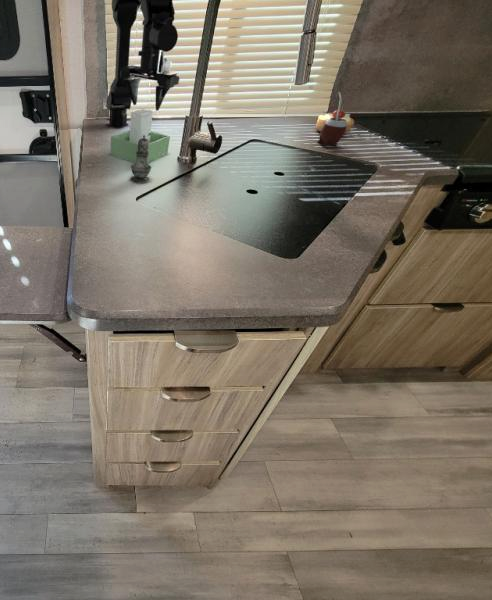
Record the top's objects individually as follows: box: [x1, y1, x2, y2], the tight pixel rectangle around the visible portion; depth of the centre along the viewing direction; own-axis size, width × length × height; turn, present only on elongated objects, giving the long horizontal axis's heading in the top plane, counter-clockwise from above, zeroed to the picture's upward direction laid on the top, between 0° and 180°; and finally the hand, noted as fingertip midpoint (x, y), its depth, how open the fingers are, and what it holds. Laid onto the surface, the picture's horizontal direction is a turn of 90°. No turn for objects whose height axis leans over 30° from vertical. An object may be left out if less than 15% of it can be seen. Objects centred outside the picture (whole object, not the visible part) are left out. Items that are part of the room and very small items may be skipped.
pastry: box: [316, 105, 355, 135], centre depth 123 cm, size 12×12×9 cm
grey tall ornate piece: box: [130, 135, 153, 184], centre depth 90 cm, size 6×6×12 cm
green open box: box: [110, 129, 171, 164], centre depth 107 cm, size 14×14×6 cm
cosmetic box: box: [129, 108, 153, 143], centre depth 105 cm, size 6×4×12 cm
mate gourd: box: [316, 91, 347, 148], centre depth 111 cm, size 8×8×15 cm
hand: (145, 107), depth 105 cm, fingers open, 9 cm apart
